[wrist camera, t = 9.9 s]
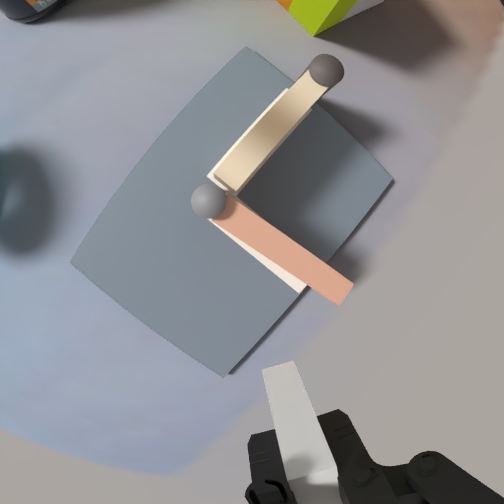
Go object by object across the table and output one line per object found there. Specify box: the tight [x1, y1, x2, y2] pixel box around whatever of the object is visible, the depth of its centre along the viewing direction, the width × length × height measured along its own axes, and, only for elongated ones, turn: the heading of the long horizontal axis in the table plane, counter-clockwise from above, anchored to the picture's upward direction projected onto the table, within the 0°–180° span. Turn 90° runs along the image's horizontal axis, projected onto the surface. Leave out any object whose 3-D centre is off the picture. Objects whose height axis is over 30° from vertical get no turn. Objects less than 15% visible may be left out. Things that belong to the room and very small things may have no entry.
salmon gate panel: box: [191, 183, 354, 306], centre depth 20 cm, size 11×2×7 cm, turn 55°
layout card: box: [70, 46, 393, 378], centre depth 23 cm, size 22×16×1 cm
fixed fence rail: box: [213, 54, 344, 192], centre depth 19 cm, size 10×2×7 cm, turn 140°
